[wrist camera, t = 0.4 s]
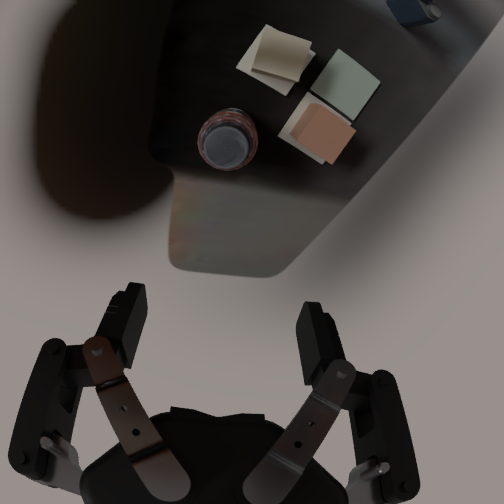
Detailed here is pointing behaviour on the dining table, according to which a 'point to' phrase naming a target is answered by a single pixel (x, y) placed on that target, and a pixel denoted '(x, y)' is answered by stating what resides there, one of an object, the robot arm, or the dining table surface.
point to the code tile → (294, 119)
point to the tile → (275, 83)
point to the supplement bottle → (228, 139)
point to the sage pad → (345, 84)
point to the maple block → (281, 56)
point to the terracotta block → (322, 132)
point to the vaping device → (414, 11)
